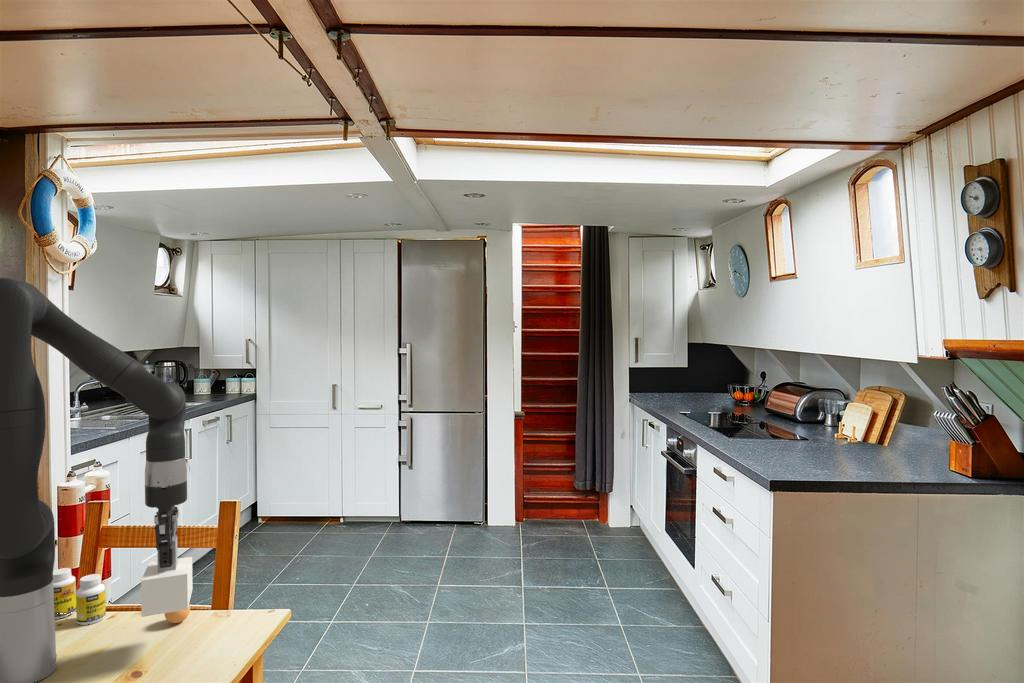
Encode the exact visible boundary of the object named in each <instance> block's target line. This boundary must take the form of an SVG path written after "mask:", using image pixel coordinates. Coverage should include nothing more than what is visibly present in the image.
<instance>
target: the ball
mask: <svg viewBox="0 0 1024 683" xmlns="http://www.w3.org/2000/svg"><path fill="white" fill-rule="evenodd" d="M190 612H191V606H190V604H189V606H188V609H187V610H181V611H175V612H169V613H163V614H164V617H165V620H166V621H167V622H169V623H171V624H179V623H183V621H185V619H187V618H188V616H189V615H190Z"/></svg>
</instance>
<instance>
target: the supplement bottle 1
mask: <svg viewBox="0 0 1024 683" xmlns="http://www.w3.org/2000/svg"><path fill="white" fill-rule="evenodd" d="M76 581H77V579H76V576H74V575H72V568H70V567H63V568H58V569H55V570H54V569H53V590H54V614H55V620H61V619H60V618H62V619H64V618H63V617H65V618H68V617H67V616H66V615H67V614H72V615H73V614H75V613H76V592H77V586H76V585H77V583H76ZM71 612H72V613H71ZM57 613H58V614H57ZM60 613H63V614H60ZM64 613H66V614H64Z"/></svg>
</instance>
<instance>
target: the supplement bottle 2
mask: <svg viewBox="0 0 1024 683" xmlns="http://www.w3.org/2000/svg"><path fill="white" fill-rule="evenodd" d="M101 582H102V574H99V573H90V574H87V575H85V576H82V577H81V578H80V579H79V588H78V589H76V611H75V613H76V624H78V625H79V624H80V626H88V624H89V625H93V624H96V623H99V622H101V621H102V620H104V619H105V618H106V613H107V612H106V586H105V584H103V583H101Z"/></svg>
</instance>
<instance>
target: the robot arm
mask: <svg viewBox="0 0 1024 683" xmlns="http://www.w3.org/2000/svg"><path fill="white" fill-rule="evenodd" d="M32 337H34V338H37V339H38V340H41V341H42V342H44V343H46V344H47V345H48V346H50V347H51V348H52V347H53V349H54V350H57V351H58V352H59V353H60V354H62V355H63V356H65V358H67V359H68V360H69V361H71V362H72V364H74V366H76V367H78V368H79V369H80V370H81V371H83V372H84V373H85V374H87V375H88V376H90V377H91V378H93V379H94V380H96V381H97V382H98V383H100V384H102V385H104V386H105V387H107V388H109V389H111V390H112V391H114V392H116V393H117V394H119V395H121V396H122V397H124V399H126V400H127V401H129V403H131V404H132V405H134V406H135V407H136V408H137V409H139V410H140V411H141V412H143V413H145V414H146V415H147V416H148V432H147V435H146V438H145V468H144V504H145V506H146V507H148V508H152V509H154V508H156V509H157V511H156V512H155V513H156V514H155V515H153V516H154V520H153V523H154V524H155V525H154V531H155V532H154V533H155V543H156V545H155V548H156V551H158V550H159V563H160V568H167V567H171V566H172V547H173V536H177V533H178V528H179V523H178V518H179V515H180V514H179V509H178V505H181V504H183V503H185V502H187V500H188V468H187V461H186V438H185V422H186V421H185V420H186V407H187V406H186V404H187V403H186V402H187V401H186V400H187V397H186V394H185V391H184V390H183V388H182V387H181V386H180V385H178V384H177V383H174V382H170V381H168V382H166V381H164V380H162V379H161V378H159V377H158V376H156V375H155V374H153V373H151V372H149V371H148V369H147V368H146V367H145V366H144V365H143V364H142V363H141V362H139V361H138V360H137V359H135V358H133V357H132V356H130V355H129V354H127V353H126V352H124V351H122V350H121V349H120V348H117V347H116V346H114V345H113V344H111V343H109V341H106V339H103V338H101V337H99V336H98V335H96V334H95V333H93V332H92V331H91V330H90V331H89V330H88V329H86V328H85V327H84V326H82V325H81V324H79V322H77V321H75V320H74V319H73V318H72V317H70V316H68V314H66V313H65V312H64V311H62V310H61V309H60V308H59V307H58V306H56V304H54V303H53V302H52V301H51V300H50V299H49V298H48V297H46V295H44V294H43V293H42V292H41V291H40V289H38V288H37V287H36V286H35V285H33V284H31V283H29V282H27V281H23V280H19V279H14V278H8V277H0V683H34V682H35V683H38V682H40V681H41V680H43V679H45V678H47V677H49V676H51V674H53V673H54V672H55V670H56V669H57V647H56V646H57V645H56V621H55V620H56V619H55V614H54V590H53V571H54V567H55V560H56V559H55V558H56V550H55V549H56V548H55V547H56V545H55V544H56V543H55V542H56V540H55V538H56V537H55V533H56V532H55V531H56V530H55V529H56V528H55V518H54V517H55V516H54V514H53V511H52V509H51V507H50V506H49V505H48V504H47V503H45V502H44V501H43V500H40V499H39V491H38V475H39V469H40V464H41V460H42V454H43V449H44V443H45V437H46V429H47V428H46V424H47V423H46V404H45V402H46V401H45V395H44V391H43V390H44V389H43V386H42V384H41V381H40V378H39V374H38V372H37V369H36V367H35V363H34V360H33V353H32ZM164 540H167V541H168V542H167V543H162V541H164ZM37 681H38V682H37Z"/></svg>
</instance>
